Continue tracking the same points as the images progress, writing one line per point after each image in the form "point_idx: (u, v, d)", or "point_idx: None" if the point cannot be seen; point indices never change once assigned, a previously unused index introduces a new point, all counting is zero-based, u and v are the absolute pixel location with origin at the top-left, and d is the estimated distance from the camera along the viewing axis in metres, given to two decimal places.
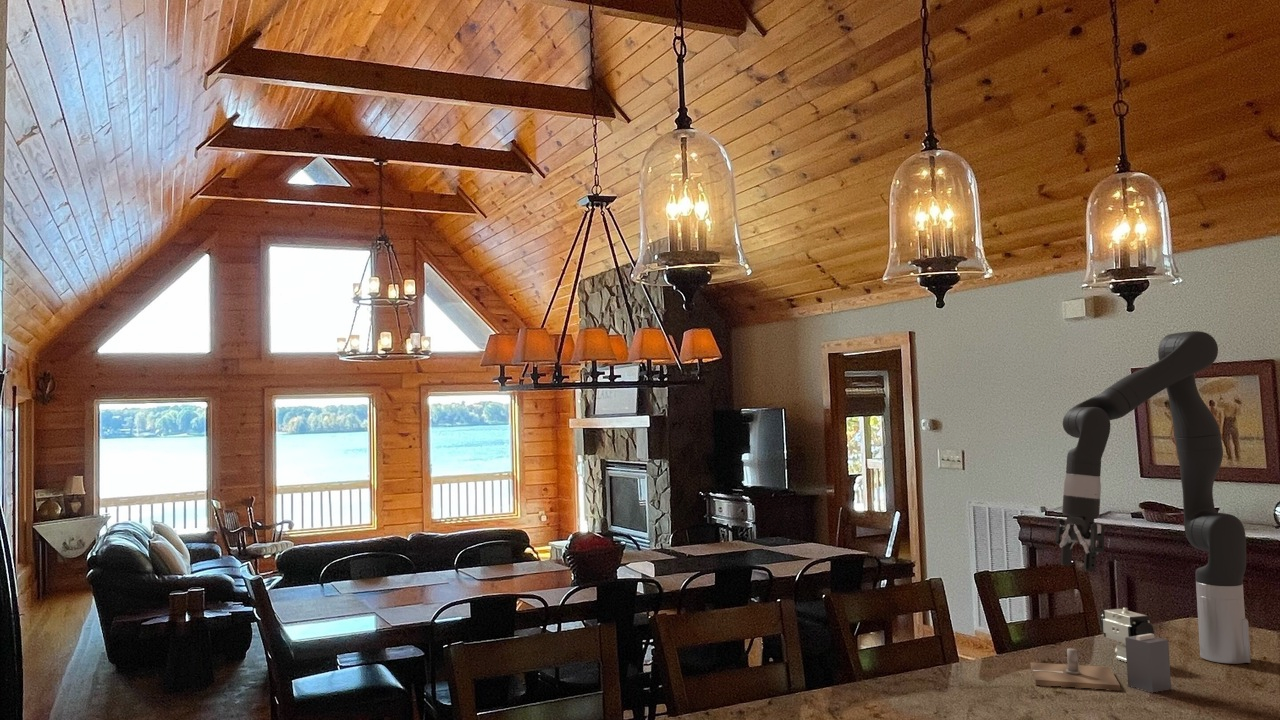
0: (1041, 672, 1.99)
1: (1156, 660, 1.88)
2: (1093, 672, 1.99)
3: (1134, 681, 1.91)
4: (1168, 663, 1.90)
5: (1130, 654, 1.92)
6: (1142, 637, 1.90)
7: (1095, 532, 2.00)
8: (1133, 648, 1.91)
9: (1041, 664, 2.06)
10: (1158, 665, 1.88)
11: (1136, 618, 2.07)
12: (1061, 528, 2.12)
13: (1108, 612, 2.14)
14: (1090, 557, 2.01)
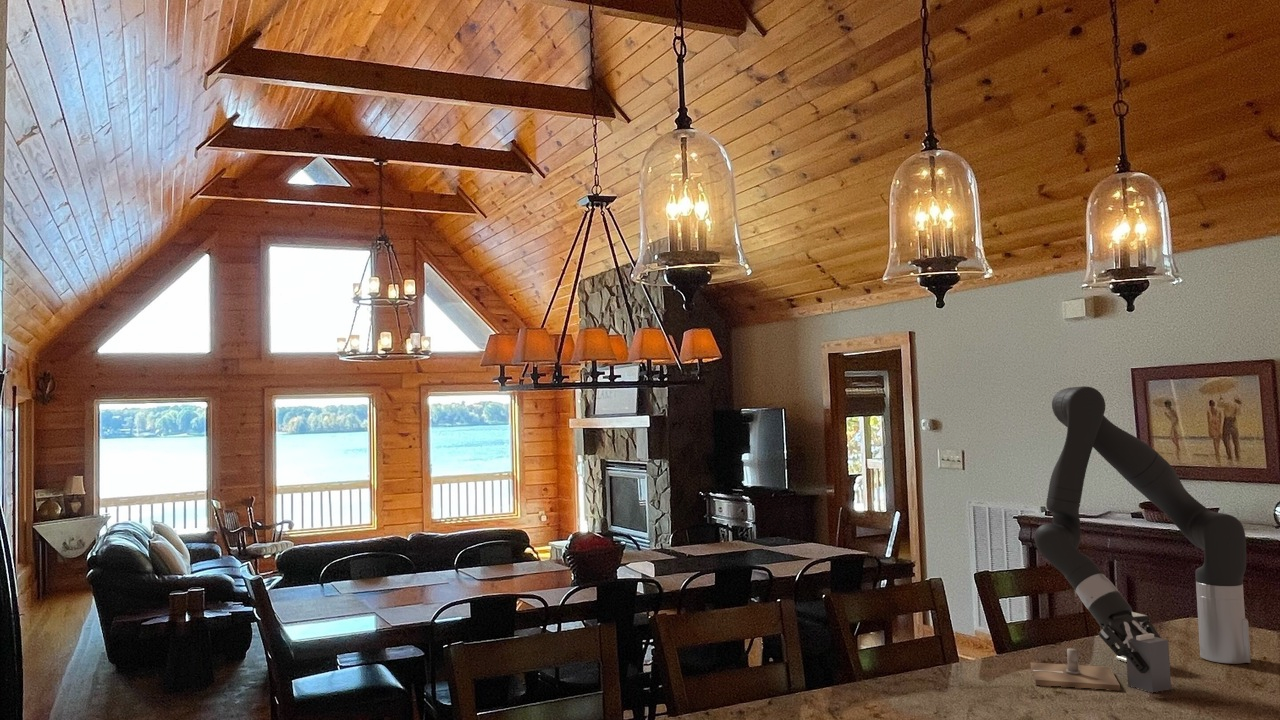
0: (1041, 672, 1.99)
1: (1155, 660, 1.88)
2: (1093, 672, 1.99)
3: (1134, 681, 1.91)
4: (1168, 663, 1.90)
5: None
6: (1142, 637, 1.90)
7: (1104, 639, 1.93)
8: None
9: (1041, 664, 2.06)
10: (1158, 665, 1.88)
11: (1136, 618, 2.07)
12: None
13: None
14: (1130, 660, 1.90)
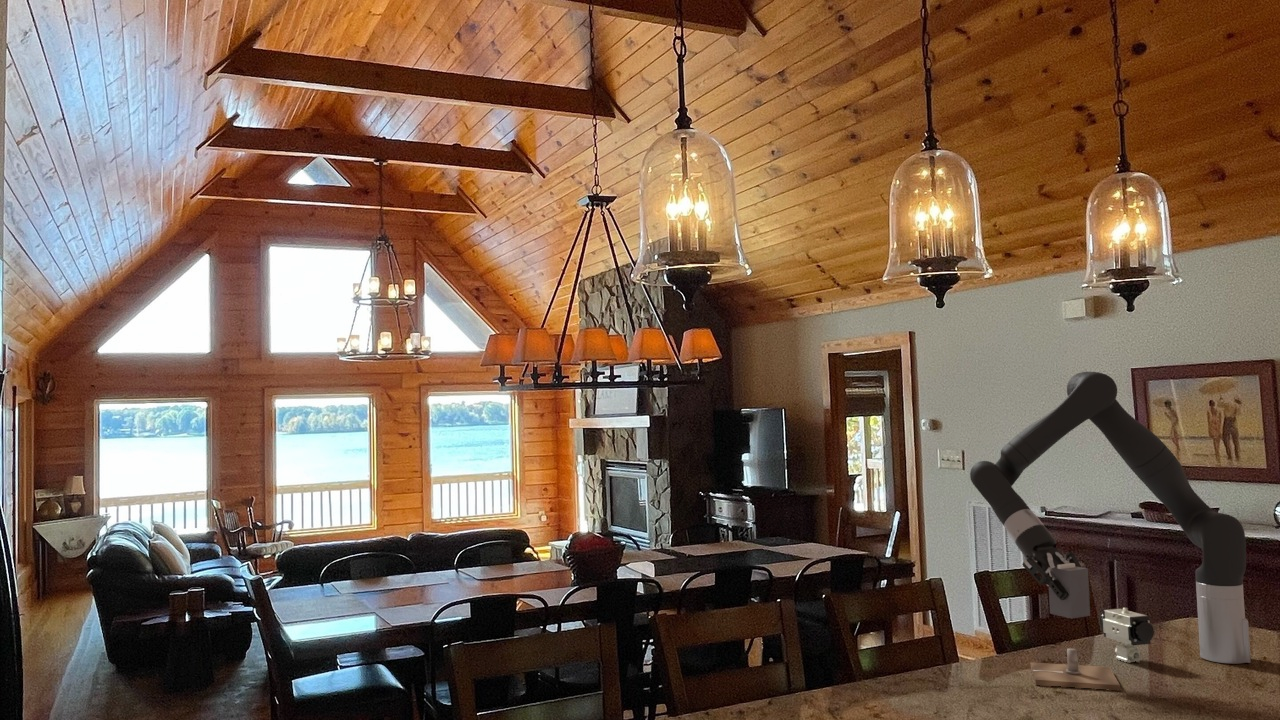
0: (1041, 672, 1.99)
1: (1075, 587, 1.96)
2: (1093, 672, 1.99)
3: (1055, 608, 1.99)
4: (1087, 590, 1.98)
5: None
6: (1063, 566, 1.99)
7: (1027, 569, 2.01)
8: None
9: (1041, 664, 2.06)
10: (1077, 592, 1.97)
11: (1136, 618, 2.07)
12: None
13: (1108, 612, 2.14)
14: (1051, 588, 1.98)
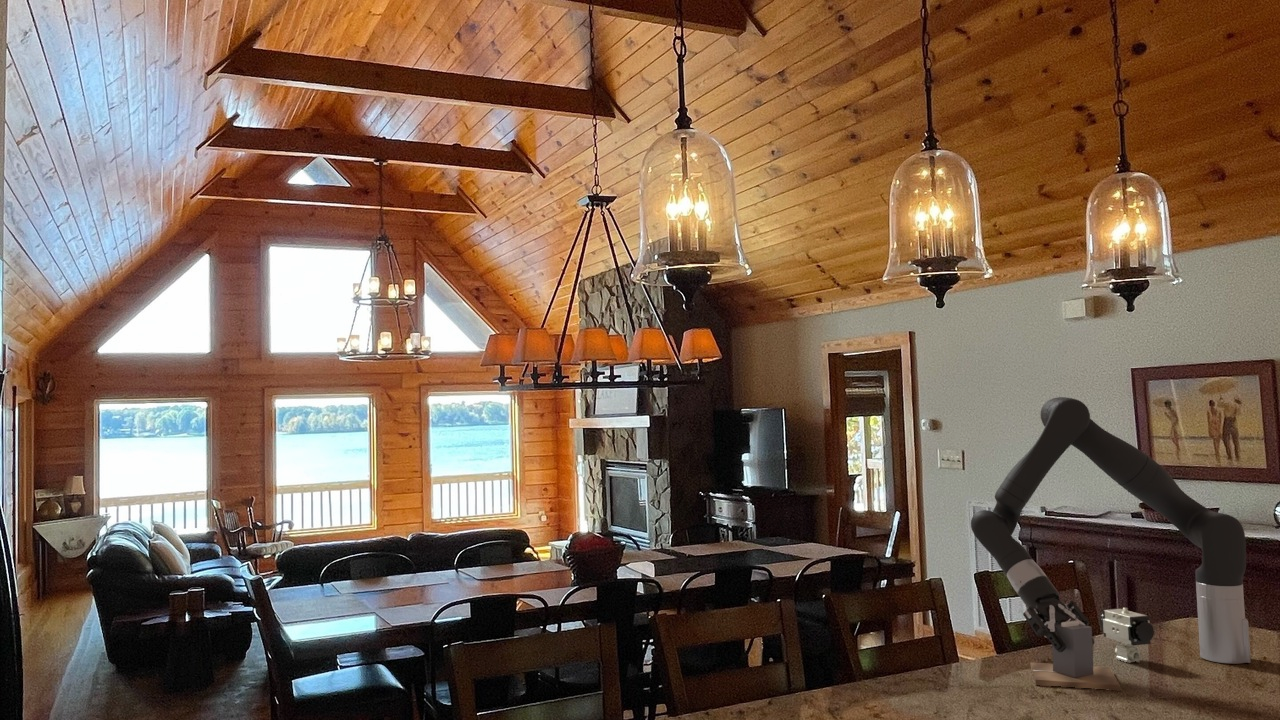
0: (1041, 672, 1.99)
1: (1079, 646, 1.96)
2: (1093, 672, 1.99)
3: (1058, 666, 1.98)
4: (1091, 649, 1.97)
5: None
6: (1067, 624, 1.98)
7: (1027, 619, 2.01)
8: (1058, 634, 1.99)
9: (1041, 664, 2.06)
10: (1081, 651, 1.96)
11: (1136, 618, 2.07)
12: None
13: (1108, 612, 2.14)
14: (1049, 639, 1.98)
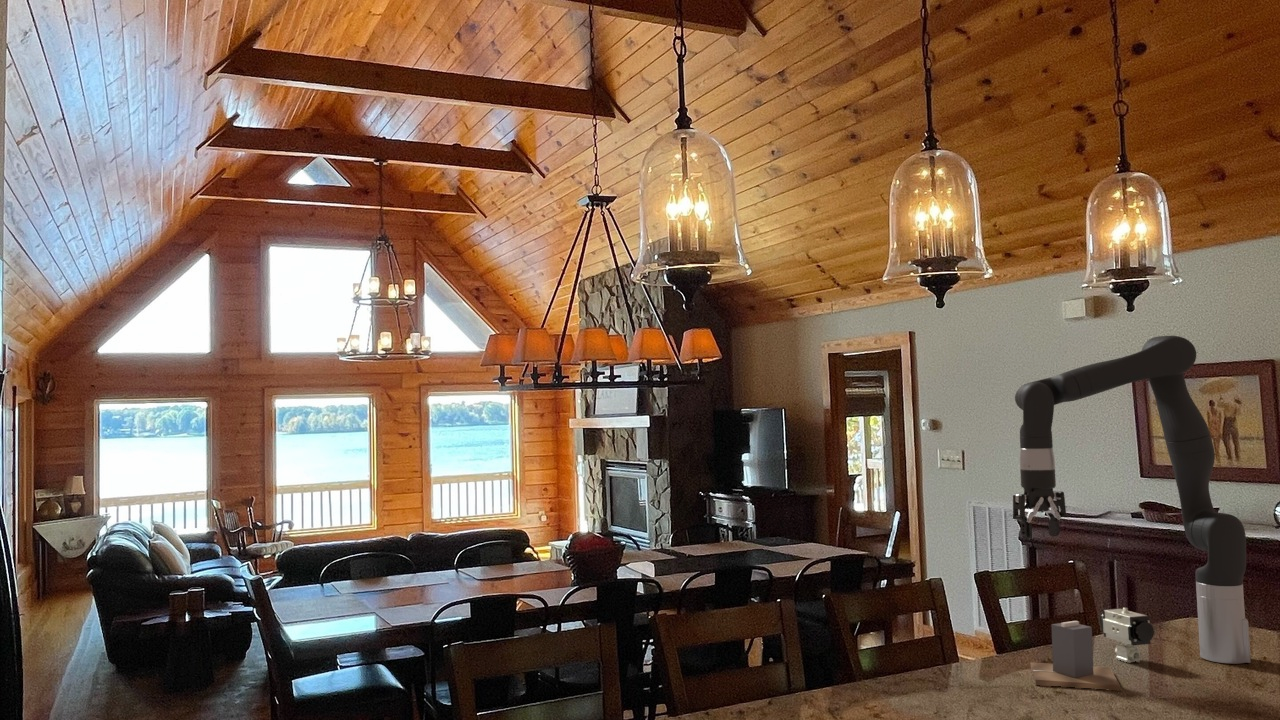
0: (1041, 672, 1.99)
1: (1079, 646, 1.96)
2: (1093, 672, 1.99)
3: (1058, 666, 1.98)
4: (1091, 649, 1.97)
5: (1055, 640, 1.99)
6: (1067, 624, 1.98)
7: (1014, 501, 2.14)
8: (1058, 634, 1.99)
9: (1041, 664, 2.06)
10: (1081, 651, 1.96)
11: (1136, 618, 2.07)
12: None
13: (1108, 612, 2.14)
14: (1021, 525, 2.14)
